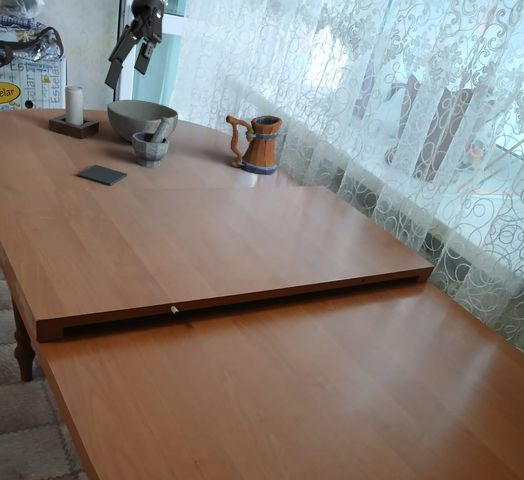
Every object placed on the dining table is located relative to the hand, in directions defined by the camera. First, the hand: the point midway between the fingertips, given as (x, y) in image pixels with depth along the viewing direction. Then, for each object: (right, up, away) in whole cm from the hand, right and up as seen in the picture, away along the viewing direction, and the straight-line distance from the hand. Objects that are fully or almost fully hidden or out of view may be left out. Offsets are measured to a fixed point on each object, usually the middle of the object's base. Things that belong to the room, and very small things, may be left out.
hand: (123, 79), depth 130 cm
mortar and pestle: (+2, -13, +21) cm, 25 cm away
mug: (+29, -10, +33) cm, 45 cm away
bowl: (-3, -2, +34) cm, 34 cm away
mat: (-7, -21, +7) cm, 23 cm away
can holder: (-22, 0, +30) cm, 38 cm away
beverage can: (-22, 0, +31) cm, 38 cm away
